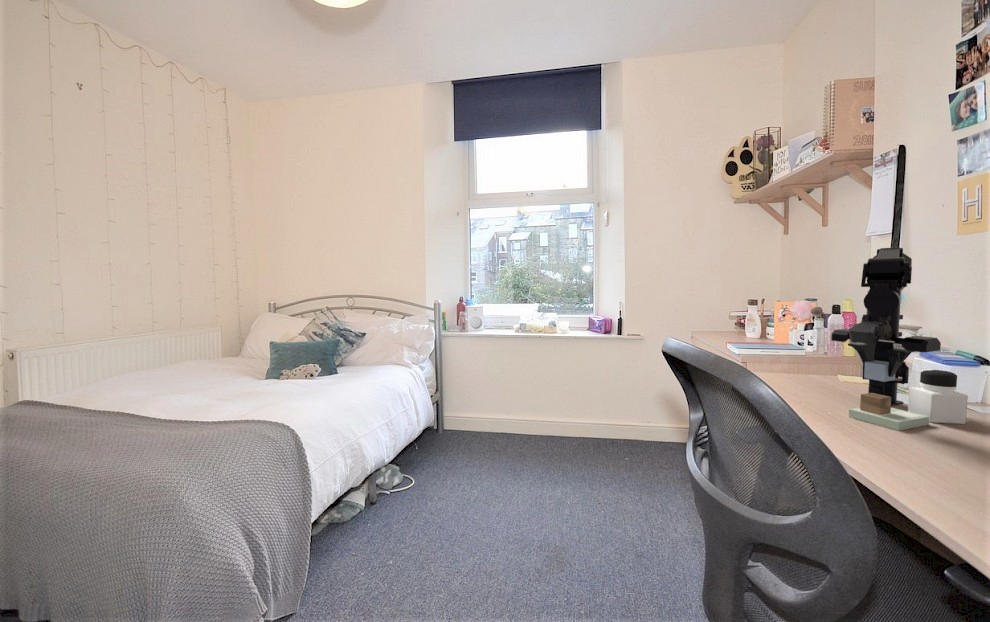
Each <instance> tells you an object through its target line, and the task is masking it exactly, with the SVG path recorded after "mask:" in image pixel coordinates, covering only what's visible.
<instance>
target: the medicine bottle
mask: <svg viewBox="0 0 990 622" xmlns="http://www.w3.org/2000/svg"><path fill="white" fill-rule="evenodd" d="M919 375H920V378H919V385H920V386H909V387H908V400H907V401H908V403H907V411H908V412H912V413H916V414H920V415H925V416H929V423H932V424H933V423H934V424H937V423H938V424H951V425H952V424H957V425H965V424H967V414H968V411H967V410H968V398H969V396H968V394H965V393H962V392H958V391H956V390H957V384H958V375H957V374H956V373H954V372H952V371H948V370H943V369H924V370H923V369H922V370H921V371H920V374H919Z"/></svg>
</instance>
